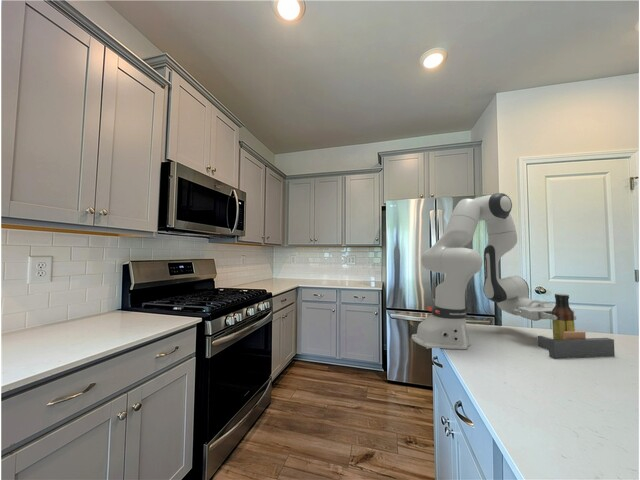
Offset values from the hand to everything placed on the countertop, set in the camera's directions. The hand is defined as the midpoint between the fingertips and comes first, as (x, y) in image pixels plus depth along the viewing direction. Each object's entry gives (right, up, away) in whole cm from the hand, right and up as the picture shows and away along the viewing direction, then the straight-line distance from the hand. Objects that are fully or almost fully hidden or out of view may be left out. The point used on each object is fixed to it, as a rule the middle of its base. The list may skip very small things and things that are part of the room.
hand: (565, 317), depth 99 cm
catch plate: (0, -12, -3) cm, 12 cm away
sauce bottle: (0, -11, +1) cm, 11 cm away
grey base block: (0, -12, 0) cm, 12 cm away
